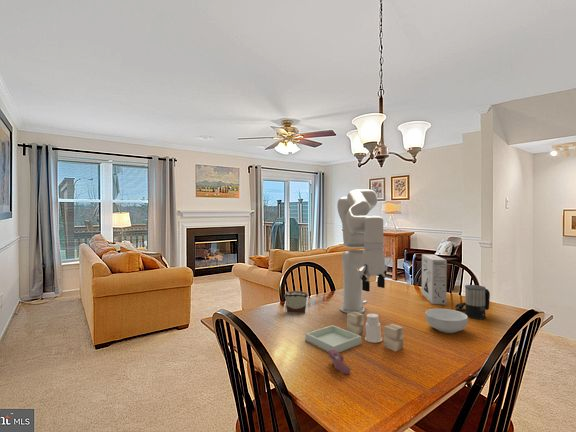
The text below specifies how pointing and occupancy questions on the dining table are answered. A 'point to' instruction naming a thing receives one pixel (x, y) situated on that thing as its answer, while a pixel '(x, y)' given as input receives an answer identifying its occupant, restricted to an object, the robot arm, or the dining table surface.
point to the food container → (296, 301)
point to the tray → (333, 338)
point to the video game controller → (338, 361)
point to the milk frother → (475, 301)
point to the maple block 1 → (355, 322)
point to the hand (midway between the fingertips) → (373, 289)
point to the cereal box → (434, 278)
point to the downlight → (373, 329)
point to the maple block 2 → (393, 337)
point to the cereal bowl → (446, 320)
